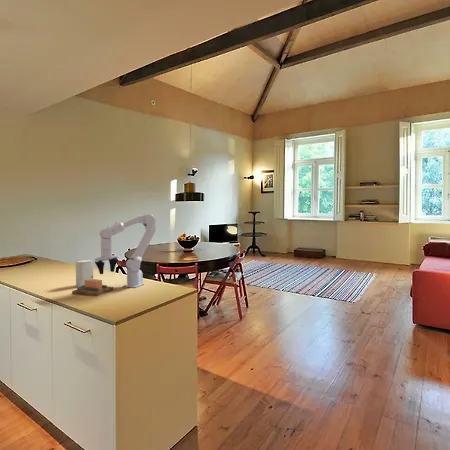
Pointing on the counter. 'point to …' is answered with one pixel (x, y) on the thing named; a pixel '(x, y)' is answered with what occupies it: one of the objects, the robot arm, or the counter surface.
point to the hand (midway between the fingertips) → (107, 272)
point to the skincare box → (83, 271)
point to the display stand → (91, 290)
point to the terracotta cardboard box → (93, 283)
